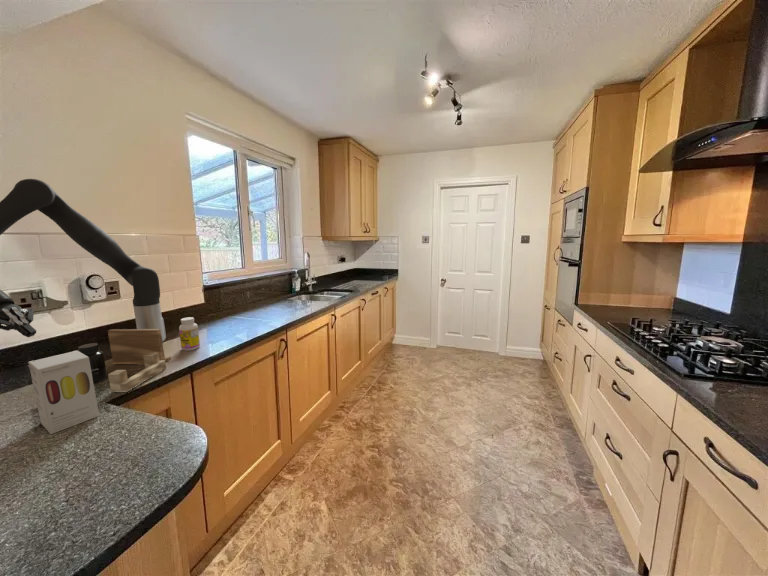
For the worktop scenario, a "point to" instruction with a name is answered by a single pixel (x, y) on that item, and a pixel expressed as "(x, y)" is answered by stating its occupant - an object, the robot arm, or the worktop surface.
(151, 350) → the oak screen
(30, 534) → the worktop surface
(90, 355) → the supplement bottle
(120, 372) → the stop bay
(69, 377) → the supplement box
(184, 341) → the supplement bottle
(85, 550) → the worktop surface
